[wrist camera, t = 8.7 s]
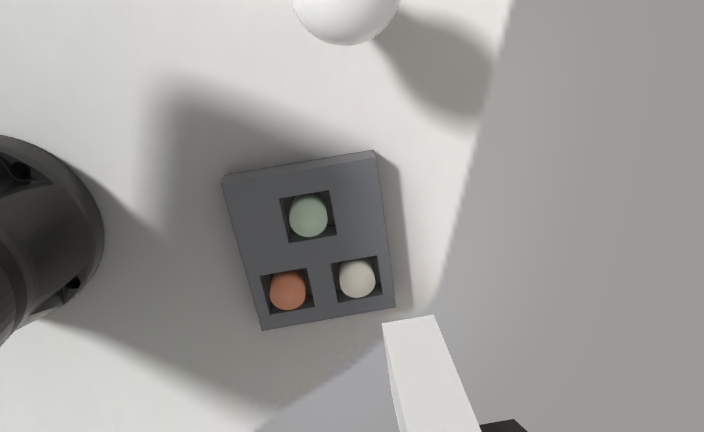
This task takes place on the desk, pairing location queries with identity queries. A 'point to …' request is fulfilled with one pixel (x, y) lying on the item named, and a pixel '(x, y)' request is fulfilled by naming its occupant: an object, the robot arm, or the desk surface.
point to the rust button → (287, 289)
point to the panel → (318, 251)
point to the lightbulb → (345, 19)
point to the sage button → (308, 215)
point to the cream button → (356, 277)
